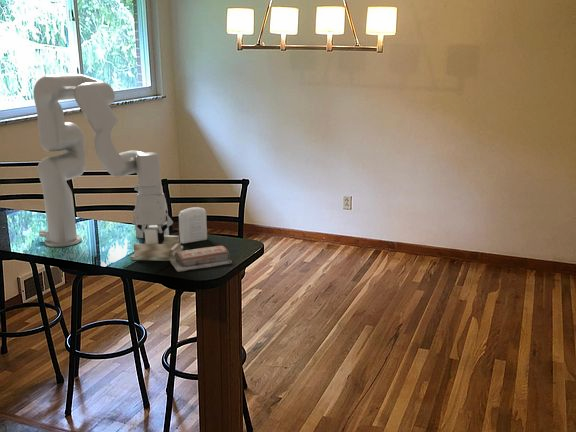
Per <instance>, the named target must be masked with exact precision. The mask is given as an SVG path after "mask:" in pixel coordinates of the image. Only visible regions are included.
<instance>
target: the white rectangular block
mask: <svg viewBox="0 0 576 432" xmlns="http://www.w3.org/2000/svg"><path fill="white" fill-rule="evenodd" d="M144 232H145V241H144V244H145V243H146V244H158V233H159V230H158V226H157V225H150V226H149V227H147V228H146V229H145V230H144Z"/></svg>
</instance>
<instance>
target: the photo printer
mask: <svg viewBox="0 0 576 432" xmlns="http://www.w3.org/2000/svg"><path fill="white" fill-rule="evenodd" d="M207 225H208V224H207V211H206V209H205V208H203V207H199V206H196V207H194V206H193V207H188V208H185V209H182V210H180V211H178V232H179V242H181V244H189V243H194V242H200V241H206V240H208V228H207V227H208V226H207Z"/></svg>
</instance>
